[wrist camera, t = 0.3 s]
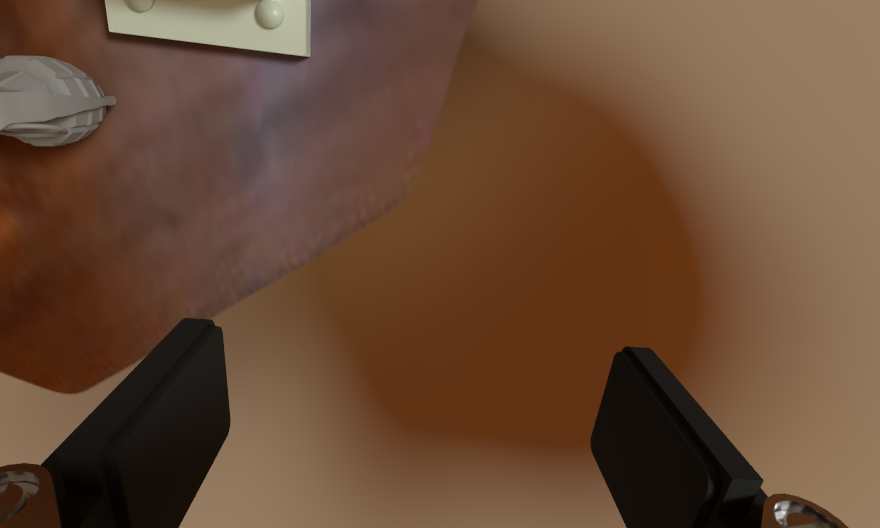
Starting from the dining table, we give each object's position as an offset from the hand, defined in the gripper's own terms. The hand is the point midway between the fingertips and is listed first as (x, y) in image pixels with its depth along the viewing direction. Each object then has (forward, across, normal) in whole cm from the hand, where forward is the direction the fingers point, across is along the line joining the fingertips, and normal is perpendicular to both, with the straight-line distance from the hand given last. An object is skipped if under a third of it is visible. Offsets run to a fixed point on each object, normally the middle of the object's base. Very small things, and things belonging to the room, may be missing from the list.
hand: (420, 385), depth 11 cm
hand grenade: (+31, +26, -3) cm, 41 cm away
